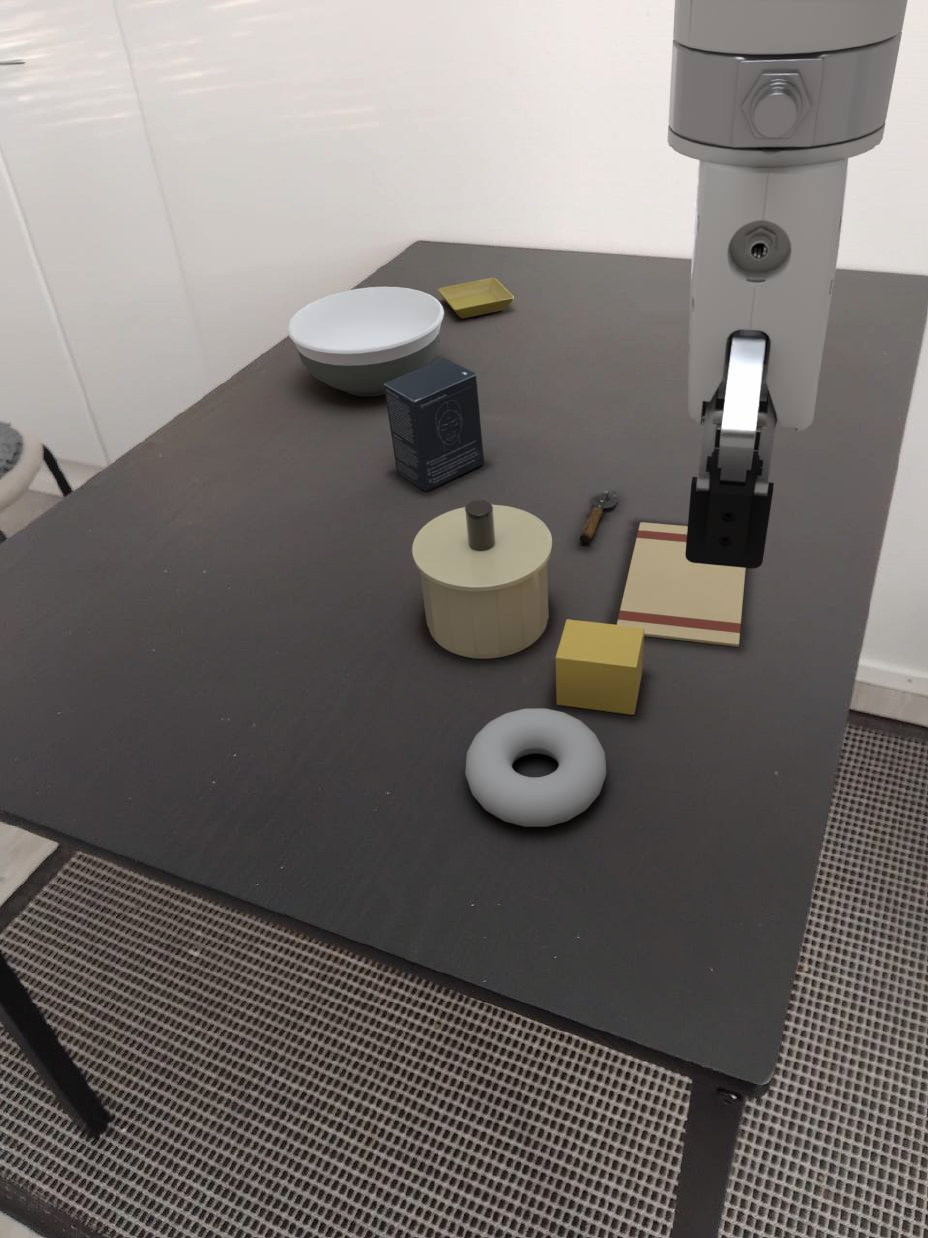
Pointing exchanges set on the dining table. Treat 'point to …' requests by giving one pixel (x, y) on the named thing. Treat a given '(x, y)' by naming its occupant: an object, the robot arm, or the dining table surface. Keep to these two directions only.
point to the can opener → (596, 515)
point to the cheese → (599, 666)
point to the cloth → (680, 591)
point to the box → (435, 423)
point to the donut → (535, 795)
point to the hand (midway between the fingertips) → (730, 499)
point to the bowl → (367, 336)
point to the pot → (487, 617)
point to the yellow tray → (477, 297)
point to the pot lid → (482, 547)
